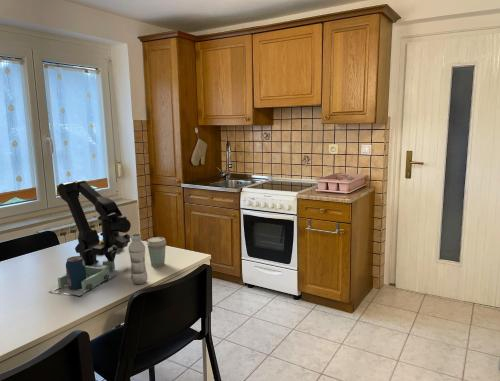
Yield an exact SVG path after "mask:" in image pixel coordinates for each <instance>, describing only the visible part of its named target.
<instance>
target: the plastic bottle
mask: <svg viewBox="0 0 500 381" xmlns="http://www.w3.org/2000/svg"><path fill="white" fill-rule="evenodd" d="M128 255H129V259H130V266H131V267H130V271H131V272H130V281H131V283H132V284H134V285H142V284H145V283H146V282H147V281H148V273H147V268H146V259H145V258H146V245H145V243H144V242H143V241H142V235H141V234H140V233H134V234H131V236H130V244H129V246H128Z"/></svg>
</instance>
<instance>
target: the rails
mask: <svg viewBox="0 0 500 381" xmlns="http://www.w3.org/2000/svg"><path fill="white" fill-rule="evenodd" d="M102 266H103V265H99V266H98V267H99V268H100V267H102ZM126 271H128V268H125V269H123V270H121V271H120V272H118V273H116V274H115V275H112V276H111V277H109V279H108V280H104V281H103V282H101V283H99V284H97V285H96V286H94V287H92V289H91V290H87V291H85V292H83V293H82V294H80V295H79V294H73V293H67V292H59V291H57V290H59V289H60V288H59V287H58V286H57V287H56V288H53V289H52V290H50V291H49V293H52V294H58V295H62V296H70V297H75V298H81V297H83V296H84V295H86V294H88V293H91V291H93V290H95V289H96V288H98V287H100V286H102V285H104V284H106V283H107V282H109V281H111V280H113V279H114V278H116V277H117V276H119V275H121V274H123V273H124V272H126Z"/></svg>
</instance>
